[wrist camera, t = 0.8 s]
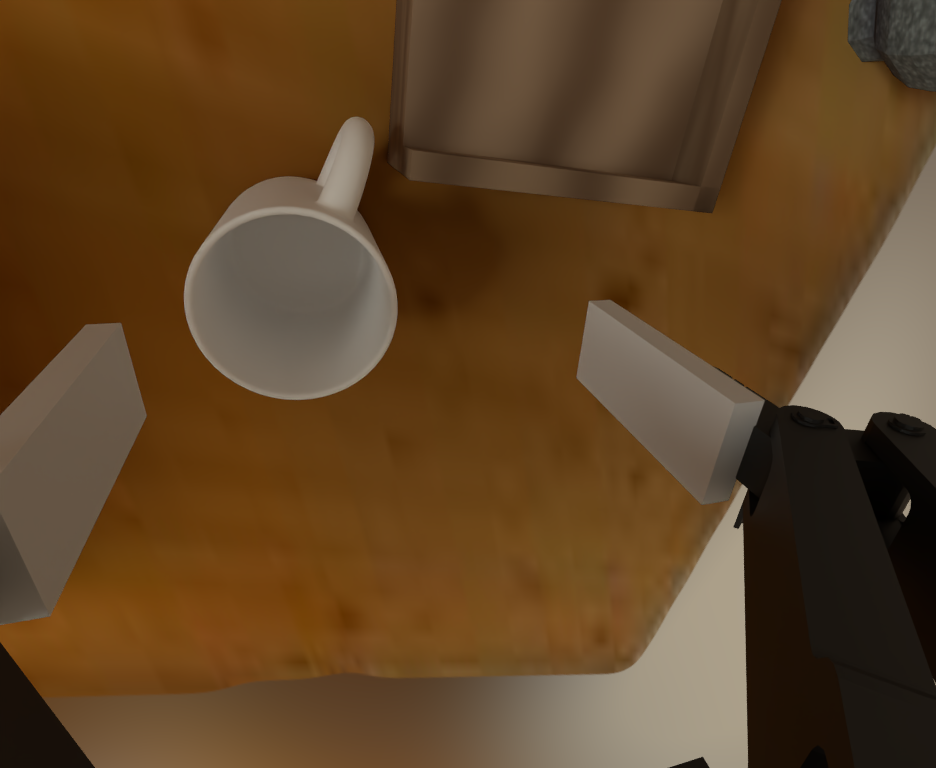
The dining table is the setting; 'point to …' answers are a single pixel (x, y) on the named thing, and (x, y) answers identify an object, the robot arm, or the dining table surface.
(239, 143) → the dining table surface
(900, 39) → the mortar and pestle
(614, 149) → the shelf
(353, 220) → the mug
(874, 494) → the robot arm
